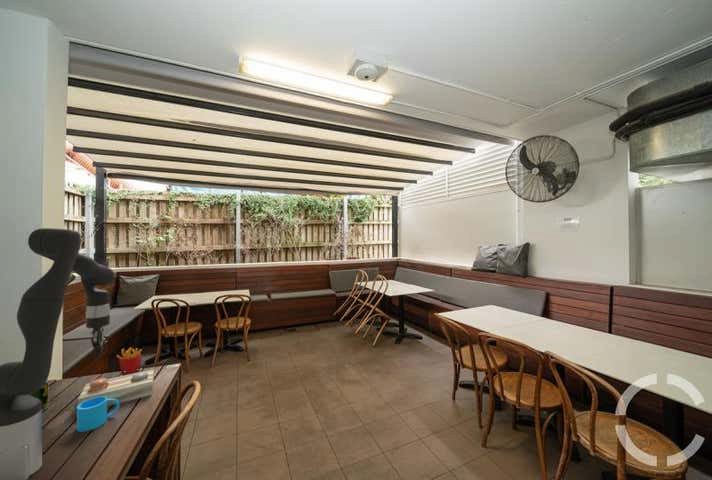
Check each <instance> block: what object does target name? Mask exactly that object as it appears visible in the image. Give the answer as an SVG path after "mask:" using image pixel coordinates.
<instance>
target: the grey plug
mask: <svg viewBox="0 0 712 480" xmlns="http://www.w3.org/2000/svg"><path fill="white" fill-rule="evenodd" d="M139 372H140V373H136V374H134V375H133V376H132V380H133V382H136V381H140V380H144V379H146V377H147V372H143V371H139Z"/></svg>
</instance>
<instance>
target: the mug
mask: <svg viewBox="0 0 712 480" xmlns="http://www.w3.org/2000/svg"><path fill="white" fill-rule="evenodd" d="M108 401H113V402H115V403H116V404H115V405H116V406H115V408H114V409H113V410H112V411H111V412H110V413H109V414H108V406H107V402H108ZM120 404H121V403H119V401H118V400H116V399H107V398H106V397H95V398H92V399H89V400H86V401H84V402H82V403H81V404H79V405H78V404H77V406H76V430H77V432H82V433H83V432H89V431H92V430H95V429H97V428H99V427H101V426H102V425H104V424H105V423H106V422H107V419H108V418H109V417H111V416H112V415H114V414H115V413H116V412H117V411H118V409H119V408H120Z"/></svg>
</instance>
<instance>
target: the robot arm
mask: <svg viewBox="0 0 712 480" xmlns="http://www.w3.org/2000/svg"><path fill="white" fill-rule="evenodd" d="M27 244H28V247H29V249H30V250H31V252H33V253H34V254H36V255H39V256H41V257H44V258H47V259H49V260H51V261H53V263H52V265H51V267H50V268H49V269H48V270H47V272H46V273H45V274H44V275H43V276H41V277H40V278H39V279H38V280H37V281H35V282H34V283H33V284H32V285H31V286H30V287H28V288H27V289H26V291H25V292H24V293H23V295H22V297H21V299H20V303H19V306H18V309H17V313H16V321H17V325H18V327H19V329H20V331H21V334H22V336H23V338H24V342H25V352H24V355H23V360H22V361H10V362H6V363H3V364H0V480H28V479H29V477H30V476H32V475H33V474H35V473H36V472H37V471H38V470H39V469H41V467H42V465H43V453H42V452H43V449H42V448H43V439H42V435H43V432H42V430H43V429H42V427H43V426H42V424H43V423H42V421H43V417H42V412H43V411H42V404H41V400H40V399H38V398H35V397H32V396H31V395H29V394H33V393H35V392H37V391H38V390H39V389H41V388H42V386H43V385H44V384H45V382H46V381H47V379H48V380H49V375H50V372H51V367H52V361H53V359H52V358H53V352H54V345H55V344H54V343H55V338H56V333H57V329H58V324H59V321H60V320H59V319H60V316H61V314H62V310H63V306H64V301H65V297H66V291H67V288H68V284H69V281H70V276H71V274H72V272H74V273H75V274H76V275H78V276H80V281H81V282H80V283H81V284H82V287H83V289H84V292H85V294H86V295H85V296H86V308H85V310H86V311H85V328H87V329H92V331H91V333H90V336H91V337H90V343H91V347H92V348H93V352H94V353H93V356H94V357H98V356H101V355H102V353H103V344H104V339H105V332H106V329H105V327H107V326H109V325H110V323H111V308H110V292H109V291H108V290H105V289H98V287H97V286H107V285H110V284H112V283H113V282H114V281H115V278H116V274H115V272H114V270H112V269H111V268H110V267H108V266H105V265H103V264H99V263H98V262H96V261H95V260H94V258H92V257H91V256H89V255H87V254H84V253H81V252H80V250H81V246H82V235H81V234H80V232H79V231H78V230H75V229H66V228H65V229H64V228H50V227H45V228H44V227H43V228H37V229H35V230H33V231H32V232H31V233H30V234H29V236H28V239H27Z"/></svg>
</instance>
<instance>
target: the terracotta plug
mask: <svg viewBox="0 0 712 480" xmlns="http://www.w3.org/2000/svg"><path fill="white" fill-rule="evenodd" d="M107 379H108V378H106V377H104V378H102V377H101V378H97V379H95V380H92V381H91V382H90V387H91V392H93V391H97V390H102V389H106V383H107Z"/></svg>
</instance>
